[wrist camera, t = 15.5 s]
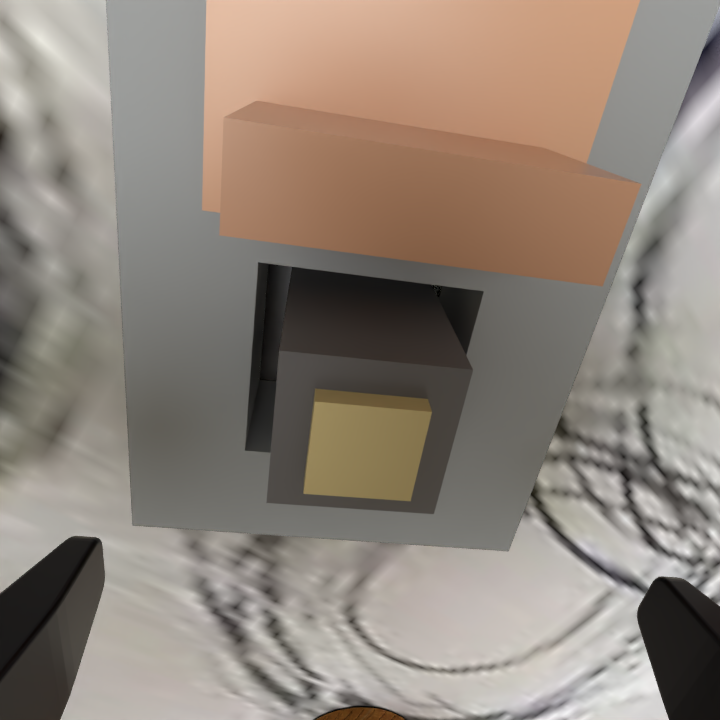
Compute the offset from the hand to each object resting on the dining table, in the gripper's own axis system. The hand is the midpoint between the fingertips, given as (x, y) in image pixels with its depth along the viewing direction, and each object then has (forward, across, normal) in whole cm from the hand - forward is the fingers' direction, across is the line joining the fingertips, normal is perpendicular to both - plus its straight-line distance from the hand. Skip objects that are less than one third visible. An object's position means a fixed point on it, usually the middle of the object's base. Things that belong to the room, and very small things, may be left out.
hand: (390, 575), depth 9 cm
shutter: (+7, 0, -7) cm, 10 cm away
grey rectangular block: (+11, 0, 0) cm, 11 cm away
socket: (+11, 0, -2) cm, 11 cm away
